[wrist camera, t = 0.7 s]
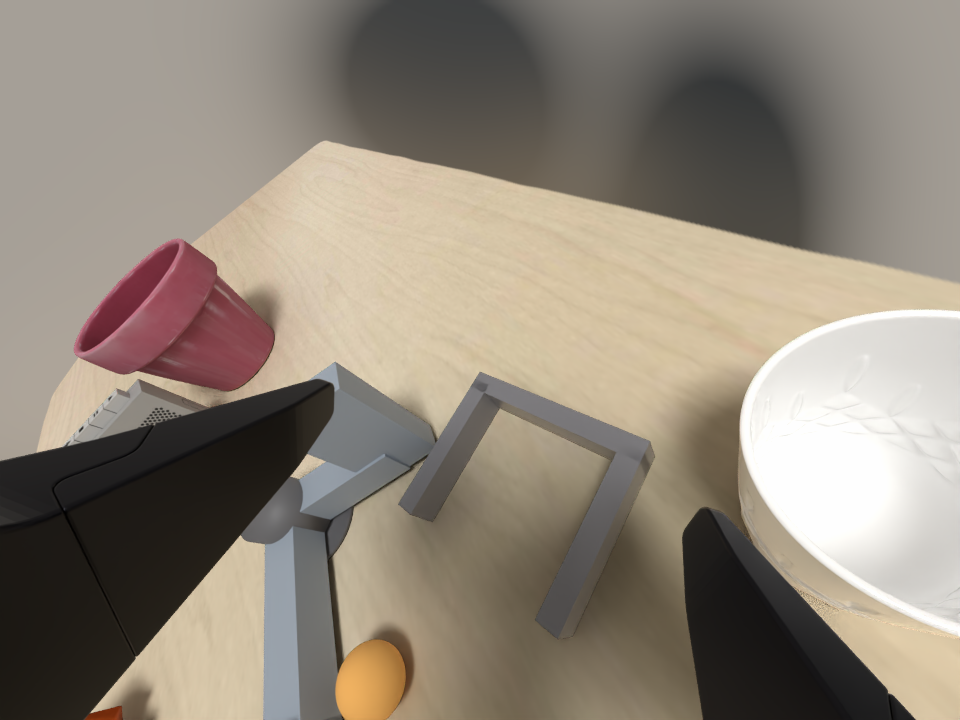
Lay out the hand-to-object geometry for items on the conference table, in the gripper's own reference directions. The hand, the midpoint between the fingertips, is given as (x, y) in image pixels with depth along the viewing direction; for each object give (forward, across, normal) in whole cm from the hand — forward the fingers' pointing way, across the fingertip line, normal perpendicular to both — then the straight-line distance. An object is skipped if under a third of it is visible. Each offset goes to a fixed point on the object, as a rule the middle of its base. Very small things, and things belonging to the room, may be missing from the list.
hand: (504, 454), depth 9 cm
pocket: (+10, -2, +11) cm, 15 cm away
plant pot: (+27, +32, +22) cm, 47 cm away
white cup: (+8, -15, +5) cm, 17 cm away
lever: (+6, +5, +18) cm, 20 cm away
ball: (+2, +3, +19) cm, 19 cm away
